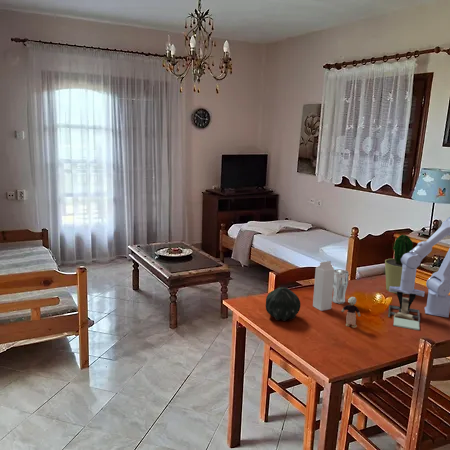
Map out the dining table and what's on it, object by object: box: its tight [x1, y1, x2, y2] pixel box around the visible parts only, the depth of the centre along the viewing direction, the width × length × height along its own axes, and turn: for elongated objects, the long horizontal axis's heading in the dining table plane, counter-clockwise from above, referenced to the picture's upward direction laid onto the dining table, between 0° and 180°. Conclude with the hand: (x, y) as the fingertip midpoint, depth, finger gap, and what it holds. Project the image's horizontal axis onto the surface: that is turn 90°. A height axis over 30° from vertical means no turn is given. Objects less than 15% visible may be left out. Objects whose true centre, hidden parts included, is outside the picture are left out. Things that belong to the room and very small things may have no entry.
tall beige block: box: [400, 296, 409, 314], centre depth 197 cm, size 2×7×6 cm, turn 158°
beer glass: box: [332, 268, 349, 305], centre depth 207 cm, size 7×7×15 cm
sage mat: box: [393, 316, 420, 331], centre depth 186 cm, size 10×8×1 cm
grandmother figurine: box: [341, 296, 361, 329], centre depth 182 cm, size 8×4×13 cm, turn 71°
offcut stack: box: [393, 311, 415, 321], centre depth 192 cm, size 8×3×2 cm, turn 63°
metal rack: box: [387, 304, 421, 323], centre depth 196 cm, size 13×12×1 cm
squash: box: [265, 286, 301, 322], centre depth 188 cm, size 14×15×15 cm
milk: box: [312, 260, 336, 312], centre depth 199 cm, size 6×6×22 cm
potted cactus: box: [384, 234, 415, 295], centre depth 223 cm, size 15×15×30 cm
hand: (404, 308), depth 197 cm, fingers closed on tall beige block, 2 cm apart
